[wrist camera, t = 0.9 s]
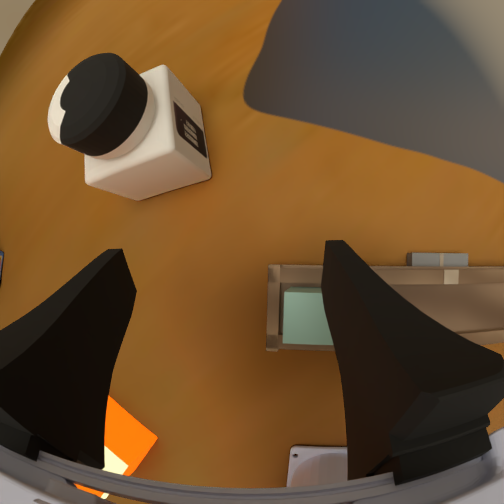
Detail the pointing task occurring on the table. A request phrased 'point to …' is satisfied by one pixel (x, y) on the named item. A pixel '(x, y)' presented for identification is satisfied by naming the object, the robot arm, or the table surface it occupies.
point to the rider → (305, 317)
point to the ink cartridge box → (1, 261)
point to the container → (130, 127)
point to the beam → (411, 295)
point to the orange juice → (123, 443)
